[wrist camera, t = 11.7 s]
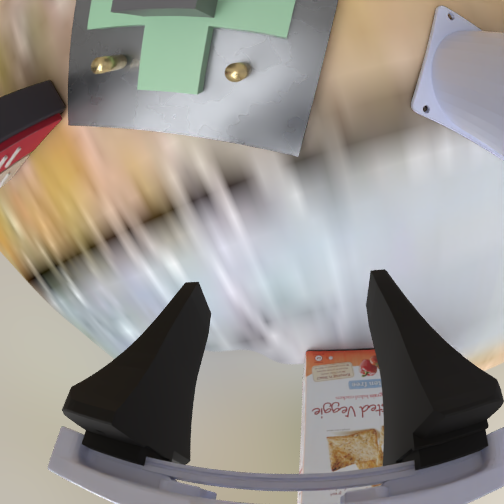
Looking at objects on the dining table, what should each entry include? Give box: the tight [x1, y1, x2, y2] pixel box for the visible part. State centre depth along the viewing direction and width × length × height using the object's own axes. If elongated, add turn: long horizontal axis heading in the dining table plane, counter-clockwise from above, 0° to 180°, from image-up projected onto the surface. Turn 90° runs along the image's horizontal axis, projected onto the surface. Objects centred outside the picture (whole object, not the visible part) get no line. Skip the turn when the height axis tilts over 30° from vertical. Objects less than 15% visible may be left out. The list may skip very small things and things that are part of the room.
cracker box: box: [297, 349, 384, 504], centre depth 23 cm, size 14×6×21 cm, turn 95°
